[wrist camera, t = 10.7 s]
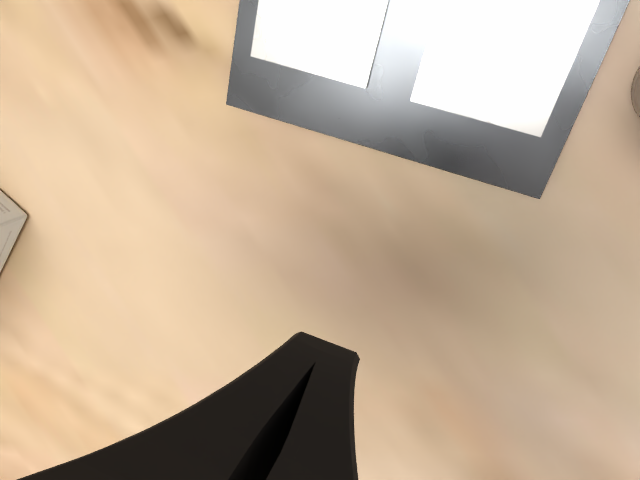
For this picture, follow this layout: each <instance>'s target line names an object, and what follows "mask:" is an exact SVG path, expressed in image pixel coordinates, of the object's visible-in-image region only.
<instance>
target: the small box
mask: <svg viewBox="0 0 640 480" xmlns="http://www.w3.org/2000/svg"><path fill="white" fill-rule="evenodd" d="M26 218H27V215H26V213H25V212H24V211H23V210H21V209H20V208H19V207H18V206H17V205H16V204H15V203H14V202H13V201H12V200H11V199H9V198H8V197H7V196H6V195H5V194H4V193H3V192H2V191H1V190H0V272H1V270H2V268H3V266H4V264H5V262H6V260H7V258H8V255H9V253H10V251H11V249H12V247H13V245H14V243H15V241H16V239H17V236H18V235H19V233H20V231H21V228H22V226H23V224H24V222H25V220H26Z"/></svg>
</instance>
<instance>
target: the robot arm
mask: <svg viewBox="0 0 640 480" xmlns="http://www.w3.org/2000/svg"><path fill="white" fill-rule="evenodd" d="M359 360H360V358H359V357H358V355H357V353H356V352H354V351H351V350H348V349H346V348H343V347H340V346H338V345H335V344H333V343H330V342H327V341H325V340H322V339H320V338H317V337H314V336H312V335H309V334H306V333H304V332H299V333H296V334H295V335H293V336H292V337H291V338H290V339H289V340H288V341H286V342H285V343H284V344H283V345H282V346H280V347H279V348H278V349H277V350H275V351H274V352H273V353H271V354H270V355H269V356H267V357H266V358H265V359H263V360H262V361H261V362H259V363H258V364H257V365H255V366H254V367H252V368H251V369H249V370H248V371H246V372H245V373H243V374H242V375H241V376H239V377H238V378H236V379H235V380H233V381H232V382H230V383H229V384H227V385H226V386H224V387H222V388H221V389H219V390H217V391H216V392H214V393H212V394H211V395H209V396H207V397H206V398H204V399H202V400H201V401H199V402H197V403H196V404H194V405H192V406H190V407H189V408H187V409H185V410H183V411H181V412H180V413H178V414H176V415H174V416H172V417H170V418H168V419H166V420H164V421H162V422H160V423H158V424H156V425H154V426H152V427H150V428H148V429H146V430H144V431H142V432H139V433H137V434H135V435H133V436H130V437H128V438H126V439H123V440H121V441H119V442H117V443H114V444H112V445H110V446H108V447H105V448H103V449H100V450H98V451H95V452H93V453H90V454H88V455H85V456H83V457H80V458H77V459H75V460H72V461H69V462H66V463H63V464H60V465H57V466H55V467H52V468H49V469H46V470H43V471H40V472H37V473H35V474H32V475H29V476H26V477H23V478H20V479H17V480H358V473H357V463H356V453H355V438H354V387H355V378H356V371H357V367H358V363H359Z"/></svg>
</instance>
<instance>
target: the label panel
mask: <svg viewBox="0 0 640 480" xmlns="http://www.w3.org/2000/svg"><path fill="white" fill-rule="evenodd" d="M629 1H630V0H240V2H239V10H238V17H237V25H236V33H235V40H234V48H233V56H232V63H231V71H230V79H229V86H228V94H227V101H226V104H227V105H230V106H233V107H237V108H240V109H243V110H246V111H250V112H253V113H256V114H260V115H263V116H266V117H270V118H273V119H276V120H280V121H283V122H286V123H290V124H293V125H296V126H299V127H303V128H306V129H309V130H313V131H316V132H319V133H323V134H326V135H329V136H333V137H336V138H339V139H343V140H346V141H349V142H352V143H356V144H359V145H362V146H366V147H369V148H372V149H376V150H379V151H382V152H386V153H389V154H392V155H395V156H399V157H402V158H405V159H409V160H412V161H415V162H419V163H422V164H425V165H429V166H432V167H435V168H439V169H442V170H445V171H448V172H452V173H455V174H458V175H462V176H465V177H468V178H472V179H475V180H478V181H482V182H485V183H488V184H492V185H495V186H498V187H501V188H505V189H508V190H511V191H515V192H518V193H521V194H525V195H528V196H531V197H535V198H538V199H540V197H541V195H542V193H543V191H544V188H545V186H546V184H547V182H548V180H549V177H550V175H551V173H552V171H553V168H554V166H555V164H556V162H557V160H558V157H559V155H560V153H561V151H562V149H563V146H564V144H565V142H566V140H567V138H568V135H569V133H570V131H571V129H572V127H573V124H574V122H575V120H576V118H577V116H578V113H579V111H580V109H581V107H582V105H583V102H584V100H585V98H586V96H587V94H588V91H589V89H590V87H591V85H592V83H593V80H594V78H595V76H596V74H597V72H598V69H599V67H600V65H601V63H602V61H603V58H604V56H605V54H606V52H607V50H608V47H609V45H610V43H611V41H612V39H613V36H614V34H615V32H616V30H617V28H618V25H619V23H620V21H621V19H622V17H623V14H624V12H625V10H626V8H627V6H628V3H629Z"/></svg>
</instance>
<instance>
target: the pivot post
mask: <svg viewBox="0 0 640 480" xmlns="http://www.w3.org/2000/svg"><path fill="white" fill-rule="evenodd" d="M631 98H632V104H633V107H634V109H635V111H636V113H637V114H638V116H639V117H640V67H639V69H638V71H637V72H636V75H635V77H634V80H633V83H632V89H631Z"/></svg>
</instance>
